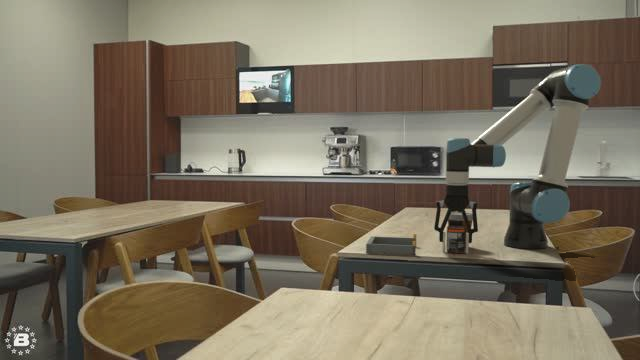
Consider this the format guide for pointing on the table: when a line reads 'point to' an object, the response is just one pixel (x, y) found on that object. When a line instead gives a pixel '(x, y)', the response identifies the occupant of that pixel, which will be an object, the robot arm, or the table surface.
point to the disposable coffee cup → (459, 216)
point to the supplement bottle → (455, 237)
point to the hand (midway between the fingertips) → (455, 252)
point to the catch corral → (391, 245)
